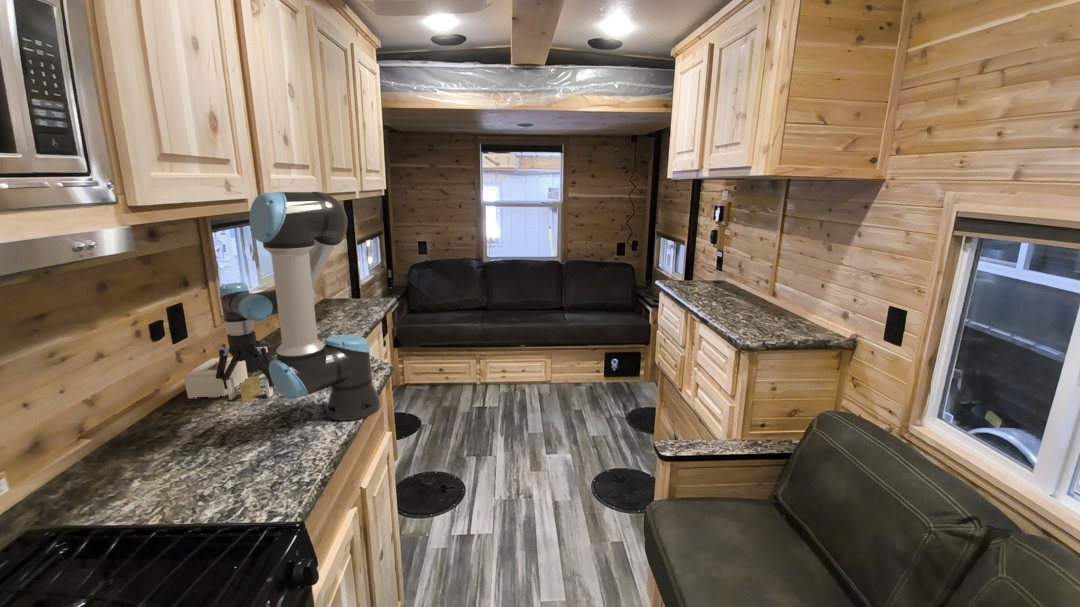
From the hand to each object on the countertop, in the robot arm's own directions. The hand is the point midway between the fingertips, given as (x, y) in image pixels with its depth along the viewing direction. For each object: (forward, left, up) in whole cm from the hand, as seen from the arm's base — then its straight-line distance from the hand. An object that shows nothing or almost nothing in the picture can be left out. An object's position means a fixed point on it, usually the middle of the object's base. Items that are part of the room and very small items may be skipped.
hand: (251, 396), depth 154 cm
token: (0, 0, 0) cm, 0 cm away
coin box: (+10, +15, 0) cm, 18 cm away
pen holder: (+27, +13, 0) cm, 30 cm away
